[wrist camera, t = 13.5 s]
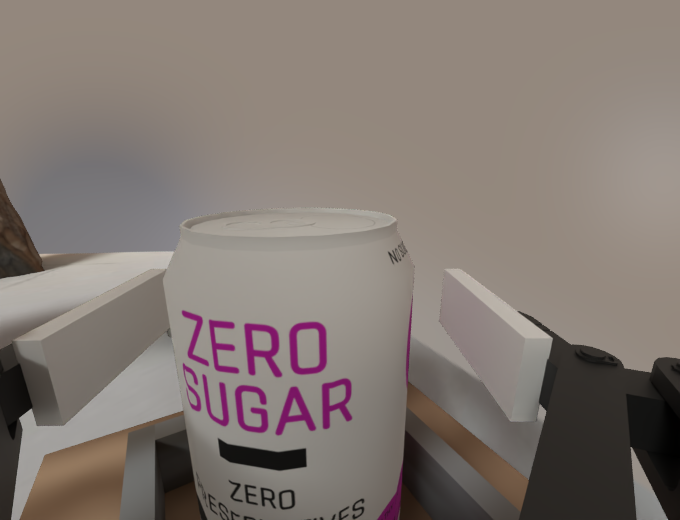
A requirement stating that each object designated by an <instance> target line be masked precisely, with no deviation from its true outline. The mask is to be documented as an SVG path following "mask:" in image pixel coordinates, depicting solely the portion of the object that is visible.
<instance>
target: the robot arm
mask: <svg viewBox="0 0 680 520" xmlns="http://www.w3.org/2000/svg"><path fill="white" fill-rule="evenodd" d="M166 271H167V269H150V270H148V271H146V272H145V273H143V274H141V275H139V276H137V277H135V278H133V279H131V280H129V281H127V282H125V283H123V284H121V285H119V286H117V287H115V288H113V289H111V290H109V291H107V292H105V293H104V294H102V295H100V296H98V297H96V298H94V299H92V300H90V301H88V302H86V303H84V304H82V305H80V306H78V307H76V308H74V309H72V310H70V311H68V312H66V313H64V314H63V315H61V316H59V317H57V318H55V319H53V320H51V321H49V322H47V323H45V324H43V325H41V326H39V327H37V328H35V329H33V330H31V331H29V332H27V333H25V334H23V335H22V336H20V337H18V338H16V339H14V340H12V344H10V345H8V346H7V347H5V348H3V349H1V350H0V520H11V515H12V507H13V500H14V492H15V484H16V476H17V469H18V461H19V453H20V445H21V438H22V430H23V429H22V426H21V423H20V420H19V417H21V416H22V415H23V414H25V413H26V412H27V411H29V410H30V409H31V408H32V411H33V414H34V417H35V421H36V424H37V426H64V425H65V424H66V423H67V422H68V421H69V420H70V419H71V418H72V417H74V416H75V415H76V414H77V413H78V412H79V411H80V410H81V409H82V408H83V407H84V406H85V405H87V404H88V403H89V402H90V401H91V400H92V399H93V398H94V397H95V396H96V395H97V394H98V393H100V392H101V391H102V390H103V389H104V388H105V387H106V386H107V385H108V384H109V383H110V382H111V381H112V380H114V379H115V378H116V377H117V376H118V375H119V374H120V373H121V372H122V371H123V370H124V369H125V368H127V367H128V366H129V365H130V364H131V363H132V362H133V361H134V360H135V359H136V358H137V357H138V356H140V355H141V354H142V353H143V352H144V351H145V350H146V349H147V348H148V347H149V346H150V345H151V344H153V343H154V342H155V341H156V340H157V339H158V338H159V337H160V336H161V335H162V334H163V333H164V332H166V331H167V330H168V329H169V328H170V323H169V317H168V310H167V304H166V298H165V291H164V285H163V278H164V275H165V273H166ZM439 321H440V323H441V324H442V326H443V327H444V329H445V330H446V331H447V333H448V334H449V336H450V337H451V339H452V340H453V341H454V343H455V344H456V345H457V347H458V348H459V350H460V351H461V352H462V354H463V355H464V357H465V358H466V360H467V361H468V362H469V364H470V365H471V367H472V368H473V370H474V371H475V372H476V374H477V375H478V377H479V378H480V379H481V381H482V382H483V384H484V385H485V386H486V388H487V389H488V391H489V392H490V394H491V395H492V396H493V398H494V399H495V401H496V402H497V403H498V405H499V406H500V408H501V409H502V410H503V412H504V413H505V415H506V416H507V417H508V419H509V420H510V422H536V420H537V415H538V410H539V405H540V404H541V405H542V407H543V408H544V409H545V410H546V411H547V412H546V416H545V420H544V424H543V428H542V432H541V435H540V439H539V443H538V447H537V451H536V455H535V459H534V462H533V466H532V470H531V474H530V478H529V482H528V486H527V489H526V493H525V497H524V501H523V505H522V509H521V513H520V516H519V520H637V519H636V508H635V496H634V484H633V472H632V460H631V449H630V447H632V448H633V450H634V452H635V454H636V456H637V458H638V460H639V462H640V464H641V466H642V468H643V470H644V472H645V474H646V476H647V478H648V480H649V482H650V484H651V486H652V488H653V490H654V492H655V494H656V496H657V498H658V500H659V502H660V504H661V506H662V508H663V510H664V512H665V514H666V516H667V518H668V520H680V359H676V358H668V357H665V358H658V359H657V360H656V361H655V362H654V365H653V369H652V372H651V373H649V372H643V371H636V370H631V369H625V368H624V366H623V364H622V362H621V361H620V360H619V359H617V358H616V357H615V356H613V355H611V354H609V353H607V352H605V351H602V350H599V349H596V348H593V347H589V346H584V345H571V344H569V343H568V342H566V341H565V340H564V339H562V338H560V337H559V336H558V335H556V334H555V333H554V332H552V331H550V329H548V328H547V327H545V326H544V325H542V324H541V323H540V322H538V321H537V320H536V319H534V318H533V317H531V316H529V315H527V314H524V313H522V312H520V311H516V310H514V309H513V308H512V307H510V306H509V305H508V304H506V303H505V302H504V301H502V300H501V299H500V298H498V297H497V296H496V295H494V294H493V293H492V292H490V291H489V290H488V289H487V288H485V287H484V286H482V285H481V284H480V283H479V282H477V281H476V280H475V279H473V278H472V277H470V276H469V275H468V274H467V273H465V272H464V271H463V270H461V269H444V278H443V289H442V299H441V309H440V320H439Z"/></svg>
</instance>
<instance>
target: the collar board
mask: <svg viewBox="0 0 680 520" xmlns="http://www.w3.org/2000/svg"><path fill="white" fill-rule="evenodd" d="M528 482H529V480H528V479H527V478H525V477H524V476H523V475H522V474H521V473H519V472H518V471H517V470H516V469H515V468H513V467H512V466H511V465H510V464H508V463H507V462H506V461H505V460H504V459H502V458H501V457H500V456H499V455H497V454H496V453H495V452H494V451H493V450H491V449H490V448H489V447H488V446H486V445H485V444H484V443H483V442H482V441H480V440H479V439H478V438H477V437H475V436H474V435H473V434H472V433H471V432H469V431H468V430H467V429H466V428H464V427H463V426H462V425H461V424H460V423H458V422H457V421H456V420H455V419H453V418H452V417H451V416H450V415H449V414H447V413H446V412H445V411H444V410H442V409H441V408H440V407H439V406H438V405H436V404H435V403H434V402H433V401H432V400H430V399H429V398H428V397H427V396H425V395H424V394H423V393H422V392H421V391H419V390H418V389H417V388H416V387H414V386H413V385H412V384H411V383H410V382H408V385H407V402H406V419H405V435H404V452H403V469H402V486H401V503H400V520H519V516H520V513H521V509H522V505H523V501H524V497H525V493H526V489H527V486H528ZM20 520H201V518H200V512H199V505H198V499H197V493H196V487H195V480H194V474H193V468H192V461H191V455H190V449H189V443H188V436H187V430H186V424H185V417H184V411H181V412H178V413H175V414H172V415H169V416H165V417H162V418H159V419H156V420H153V421H150V422H147V423H144V424H140V425H137V426H134V427H131V428H128V429H125V430H122V431H119V432H115V433H112V434H109V435H106V436H103V437H100V438H97V439H94V440H90V441H87V442H84V443H81V444H78V445H75V446H72V447H69V448H65V449H62V450H59V451H56V452H53V453H50V454H47V455H45V456H44V459H43V461H42V464H41V466H40V469H39V471H38V474H37V477H36V479H35V482H34V484H33V487H32V489H31V492H30V494H29V497H28V500H27V502H26V505H25V507H24V510H23V512H22V515H21V517H20Z"/></svg>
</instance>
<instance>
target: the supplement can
mask: <svg viewBox="0 0 680 520" xmlns="http://www.w3.org/2000/svg"><path fill="white" fill-rule="evenodd" d="M179 227H180V234H181V237H180V240H179V242H178V245H177V247H176V249H175V252H174V254H173V256H172V259H171V261H170V263H169V266H168V268H167V271H166V273H165V275H164V278H163V285H164V291H165V298H166V304H167V310H168V317H169V323H170V329H171V336H172V342H173V348H174V354H175V361H176V367H177V373H178V380H179V386H180V392H181V398H182V405H183V411H184V417H185V424H186V430H187V436H188V443H189V449H190V455H191V461H192V468H193V474H194V480H195V487H196V493H197V499H198V505H199V512H200V518H201V520H400V503H401V486H402V469H403V452H404V435H405V419H406V402H407V385H408V368H409V351H410V334H411V318H412V300H413V283H414V264H413V262H412V260H411V258H410V256H409V254H408V252H407V250H406V248H405V246H404V243H403V241H402V239H401V237H400V235H399V233H398V231H397V219H395V218H394V217H393V216H392V215H388V214H384V213H379V212H373V211H365V210H355V209H338V208H276V209H256V210H244V211H233V212H224V213H217V214H211V215H205V216H199V217H196V218H192V219H189V220H185V221H184V222H183V223H182V224H181V225H180V226H179Z"/></svg>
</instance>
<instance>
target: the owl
mask: <svg viewBox="0 0 680 520" xmlns="http://www.w3.org/2000/svg"><path fill="white" fill-rule="evenodd" d="M41 265H42V259H41V258H40V256H39V254H38V252H37V250H36V248H35V246H34V244H33V242H32V240H31V238H30V236H29V234H28V232H27V230H26V228H25V226H24V224H23V222H22V220H21V218H20V216H19V214H18V213H17V211H16V210H15V209H14V207H13V205H12V204H11V202H10V200H9V198H8V196H7V194H6V191H5V188H4V186H3V184H2V182H1V179H0V278H6V277H13V276H20V275H25V274H30V273H36V272H41V271H45V270H44V269H43V268H42V266H41Z"/></svg>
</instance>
